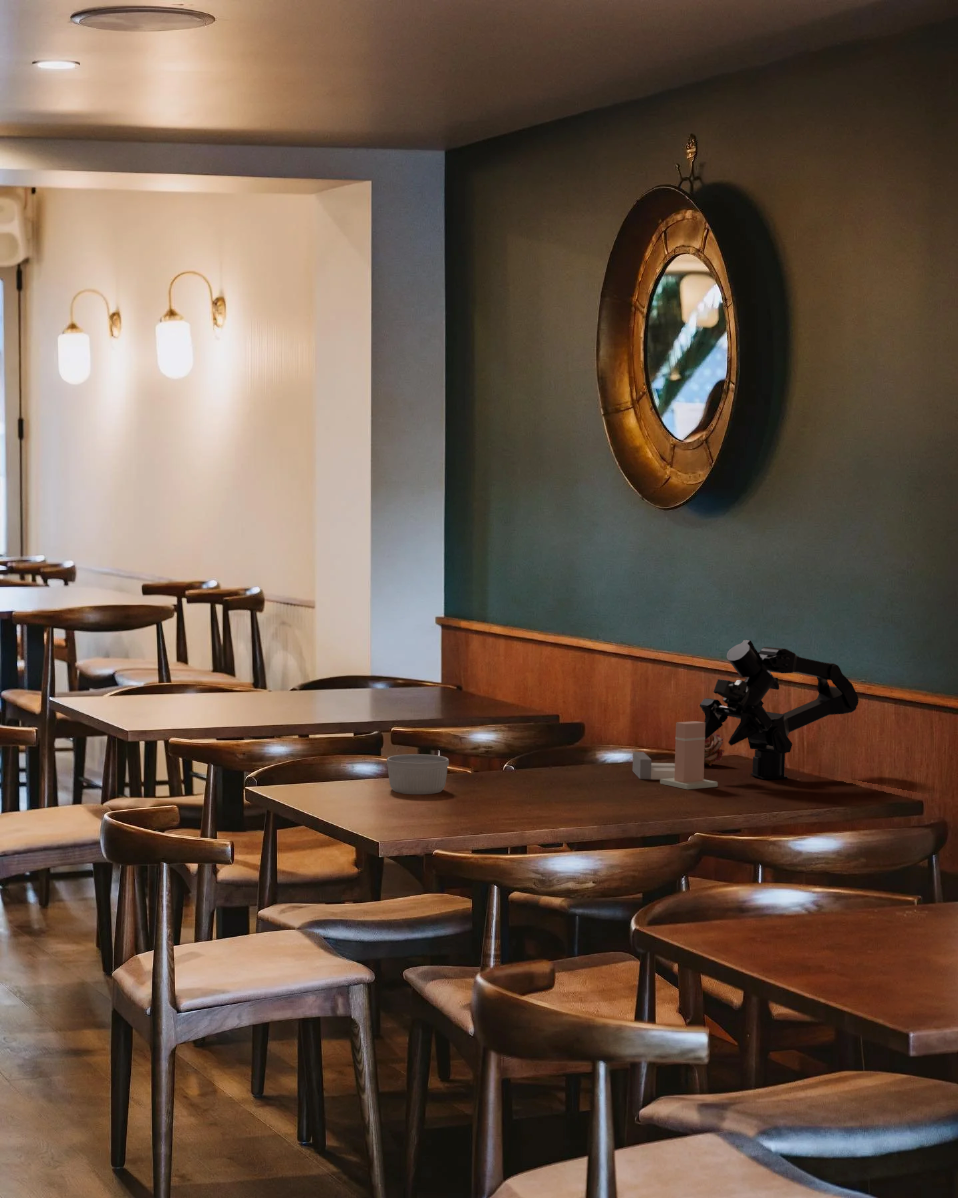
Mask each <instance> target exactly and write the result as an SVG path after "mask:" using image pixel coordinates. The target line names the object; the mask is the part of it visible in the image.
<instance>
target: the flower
mask: <svg viewBox="0 0 958 1198" xmlns="http://www.w3.org/2000/svg"><path fill="white" fill-rule="evenodd" d="M723 741H724V738H723V737H722V738H721V735H720V734H718V733H716V732H714V733H713V734H712V735H710V736H709V737H708V738H707V739H705V748H704V762H705V763H704V765H706V764H708V765H709V766H710V767H712V764H713V763H714V762H718V761H721V760H722V759H723V758H722V756H723V755H724V754H723V753H725V749H721V748H722V745H723V744H724V742H723Z"/></svg>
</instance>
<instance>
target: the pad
mask: <svg viewBox="0 0 958 1198" xmlns="http://www.w3.org/2000/svg"><path fill="white" fill-rule="evenodd" d="M659 783H660V785H665V786H670V787H674V788H679V789H684V790H696V789H706V788H716V787H718V785H719V782H718V781H715V780H709V779H705V778H704V781H694V782H684V783H683V782H679V781H674V778H667V779H659Z"/></svg>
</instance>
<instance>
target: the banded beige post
mask: <svg viewBox="0 0 958 1198" xmlns="http://www.w3.org/2000/svg"><path fill="white" fill-rule="evenodd" d="M674 737H675V745H674V746H675V748H674V749H675V750H674V751H675V753H674V763H675V776H674V781H679V782H683V783H684V782H694V781H704V779H705V778H704V776H705V763H704V748H705V723H704V721H697V720H696V721H695V720H694V721H678V722H676V723H675V736H674Z"/></svg>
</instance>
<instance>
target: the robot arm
mask: <svg viewBox="0 0 958 1198" xmlns="http://www.w3.org/2000/svg"><path fill="white" fill-rule="evenodd" d="M726 658H727V660H728V661H729V663H730V664H731V666H732V667H733V668H734V669H735V671H736V672H737V674H738V675H739V676H740V677H742V678H745V679H744V680H741V679H737V680H736V681H731V680H728V679H720V678H719V679H717V681H716V683H715V686H714V689H713V691H712V692H713V693H714V695H715V694H716V695H719V696H720V697H723V698H722V701H723V703H725V704H726V706H724V705H723V704H722V703H721V702H720V700H719V699H717V698H716V699H715V698H710V697H709V698H706V697H705V698H703V699H702V701H701V702H700V704H699V707H700V708H701V710H702V712H703V714H704V721H703V722H704V723H705V739H707V738H708V737H709V736H710V735H712V734H713V733H716V731H718V730H720V728H721V727H723V726H724V724H723V723H724V722H726V721H727V719H728V718H729V717H731V718H736V719H737V720H738V719H739V720H740V722H739V724H738V725H737V727H736V728H735V730H734V732H733V733H732V734H731V736H730V738H729V740H728V745H729V746H731V747H732V746H734V745H736V744H738V743H739V742H742V741H743V740H746V739H747V741H748V746H749V749H750V750H754V756H752V772H750V776H752V777H753V776H754V777H756V778H759V779H762V780H773V779H774V780H775V779H777V780H778V779H788V778H789V776H788V775H785V766H786V763H785V761H786V754H787V753H791V752H792V751H791V750H792V747H793V743H792V741H791V740H790V738H789V735H790V733H791V732H793V731H796V730H798V729H801V728H804V727H805V726H807V725H809V724H810V725H811V724H812V723H814V722H817V721H819V720H821V719H823V718H826V717H827V716H831V715H845V714H850V713H853V712H855V711H856V710H857V707H858V705H859V696H858V694H857V692H856V690H855V688H854V685H853V683H852V682H851V681H850V679H848V677H846V676H845V675H844V674H843V672H842V669H841V668H840V666H839V665H837V664H836V663H834V662H833V663H832V662H824V661H819V660H815V659H811V658H810V659H809V658H806V657H800V656H799V655H797V654H796V653H795V652H794V651H791V650H790V649H788V648H779V647H773V646H772V647H771V646H763V647H762V648H761V649H760V651H758V650H757V649H756V647H755V646H754V644H753V642H752V641H751V640H750V639H748V640H747V639H743V641H742V642H741V643H738V644H736V645H733V647H732V648H729V650H727V654H726ZM772 673H777V674H793V673H796V674H799V675H800V674H801V675H805V676H808V677H809V676H811V677H815V678H816V679H817V693H818V696H817V698H816V699H814V700H811V701H810V702H807V703H805V704H802V705H800V706H798V707H795V708H793V709H790V710H788V711H786V712H783V713H778V712H770V711H767V710H766V709H765V707H764V706H763V705H764V701H763V699H764V698H765V696H766V694H767V693H768V692H769V691H770V690H776V691H778V690H780V684H779V678H778V677H775V676H773V674H772ZM828 681H831V682H832V684H833V685H834V686H832V685H831V686H830V684H829V682H828Z"/></svg>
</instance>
